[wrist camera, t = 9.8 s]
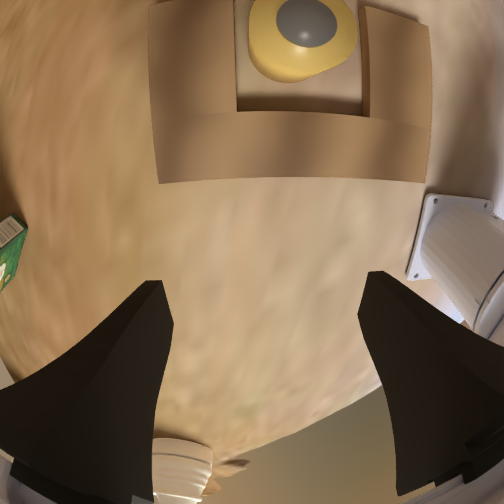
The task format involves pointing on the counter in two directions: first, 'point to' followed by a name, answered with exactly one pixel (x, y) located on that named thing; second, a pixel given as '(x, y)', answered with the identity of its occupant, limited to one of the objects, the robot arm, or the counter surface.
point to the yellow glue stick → (300, 37)
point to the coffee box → (10, 247)
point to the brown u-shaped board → (284, 122)
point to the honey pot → (179, 470)
